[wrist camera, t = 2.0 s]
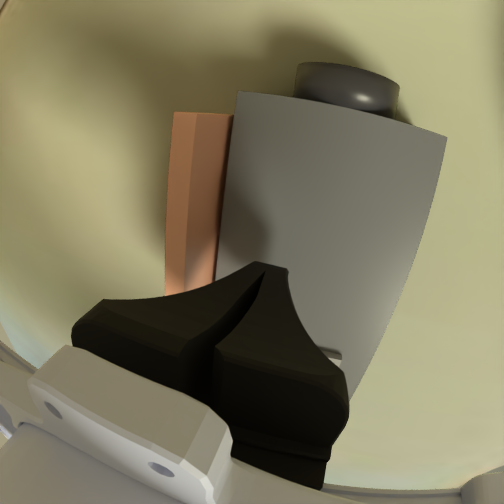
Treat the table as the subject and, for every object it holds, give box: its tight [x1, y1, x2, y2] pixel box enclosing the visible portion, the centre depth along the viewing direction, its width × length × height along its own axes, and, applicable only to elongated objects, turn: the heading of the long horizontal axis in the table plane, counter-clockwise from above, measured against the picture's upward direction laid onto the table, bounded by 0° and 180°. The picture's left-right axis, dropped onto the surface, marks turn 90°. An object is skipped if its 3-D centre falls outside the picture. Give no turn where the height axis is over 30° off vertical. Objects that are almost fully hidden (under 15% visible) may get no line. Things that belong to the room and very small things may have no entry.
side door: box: [165, 112, 234, 296], centre depth 14 cm, size 12×1×7 cm, turn 172°
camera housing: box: [215, 62, 447, 401], centre depth 14 cm, size 16×8×5 cm, turn 172°
